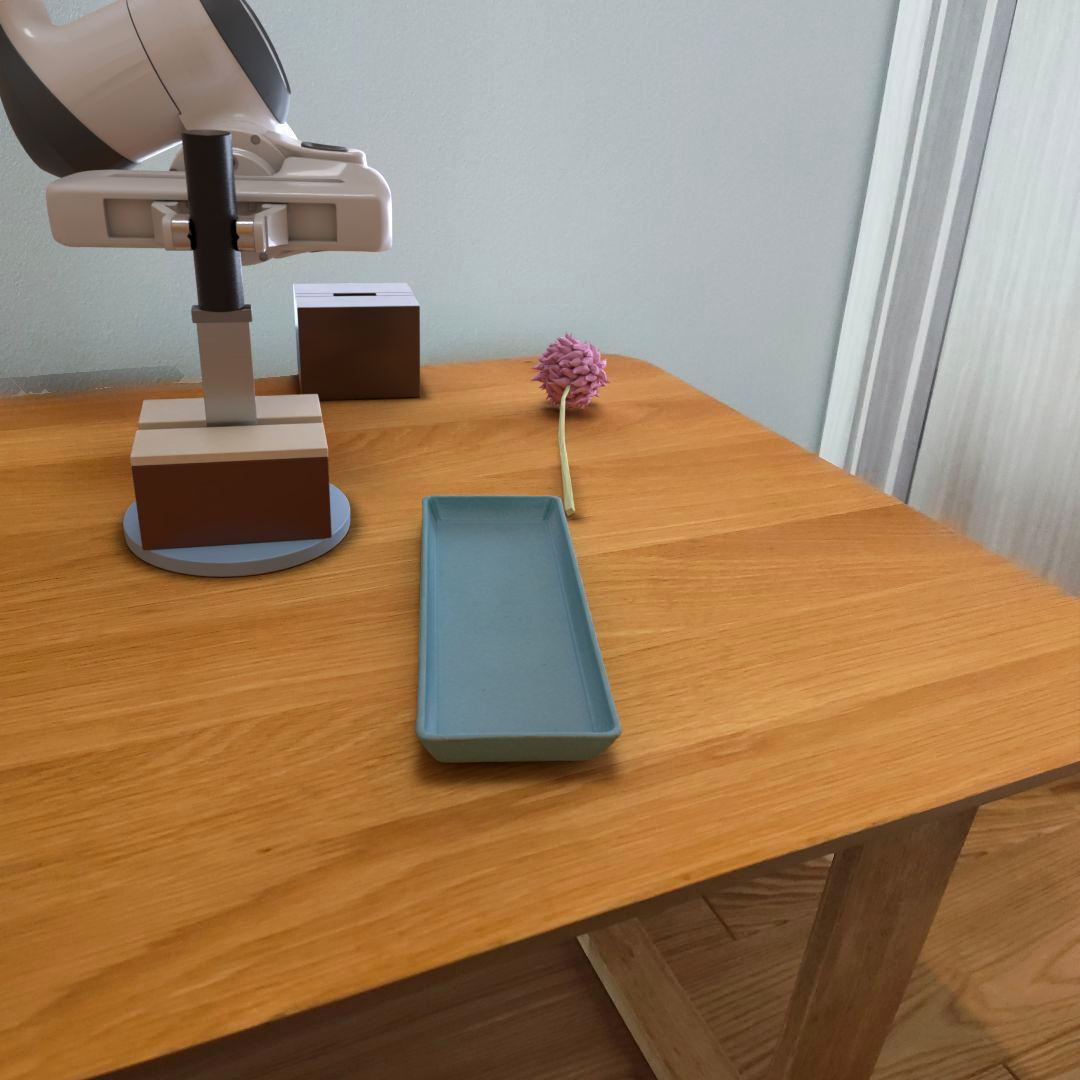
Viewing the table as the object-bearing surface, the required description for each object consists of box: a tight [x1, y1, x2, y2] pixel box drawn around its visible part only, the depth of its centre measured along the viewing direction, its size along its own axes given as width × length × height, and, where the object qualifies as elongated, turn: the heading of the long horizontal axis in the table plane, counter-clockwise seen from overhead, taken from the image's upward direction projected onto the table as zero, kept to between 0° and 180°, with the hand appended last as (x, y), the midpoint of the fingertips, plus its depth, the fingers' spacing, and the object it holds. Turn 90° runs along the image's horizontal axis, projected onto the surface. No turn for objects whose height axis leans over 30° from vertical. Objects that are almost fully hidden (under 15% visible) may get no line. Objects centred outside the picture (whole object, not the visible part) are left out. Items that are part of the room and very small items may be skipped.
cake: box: [122, 394, 351, 578], centre depth 67 cm, size 14×14×7 cm
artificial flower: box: [529, 331, 611, 517], centre depth 82 cm, size 7×7×25 cm
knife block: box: [292, 282, 421, 401], centre depth 92 cm, size 10×8×8 cm
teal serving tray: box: [414, 494, 623, 764], centre depth 58 cm, size 26×9×2 cm, turn 5°
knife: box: [181, 129, 257, 427], centre depth 63 cm, size 3×3×22 cm
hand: (213, 236), depth 59 cm, fingers closed on knife, 2 cm apart
